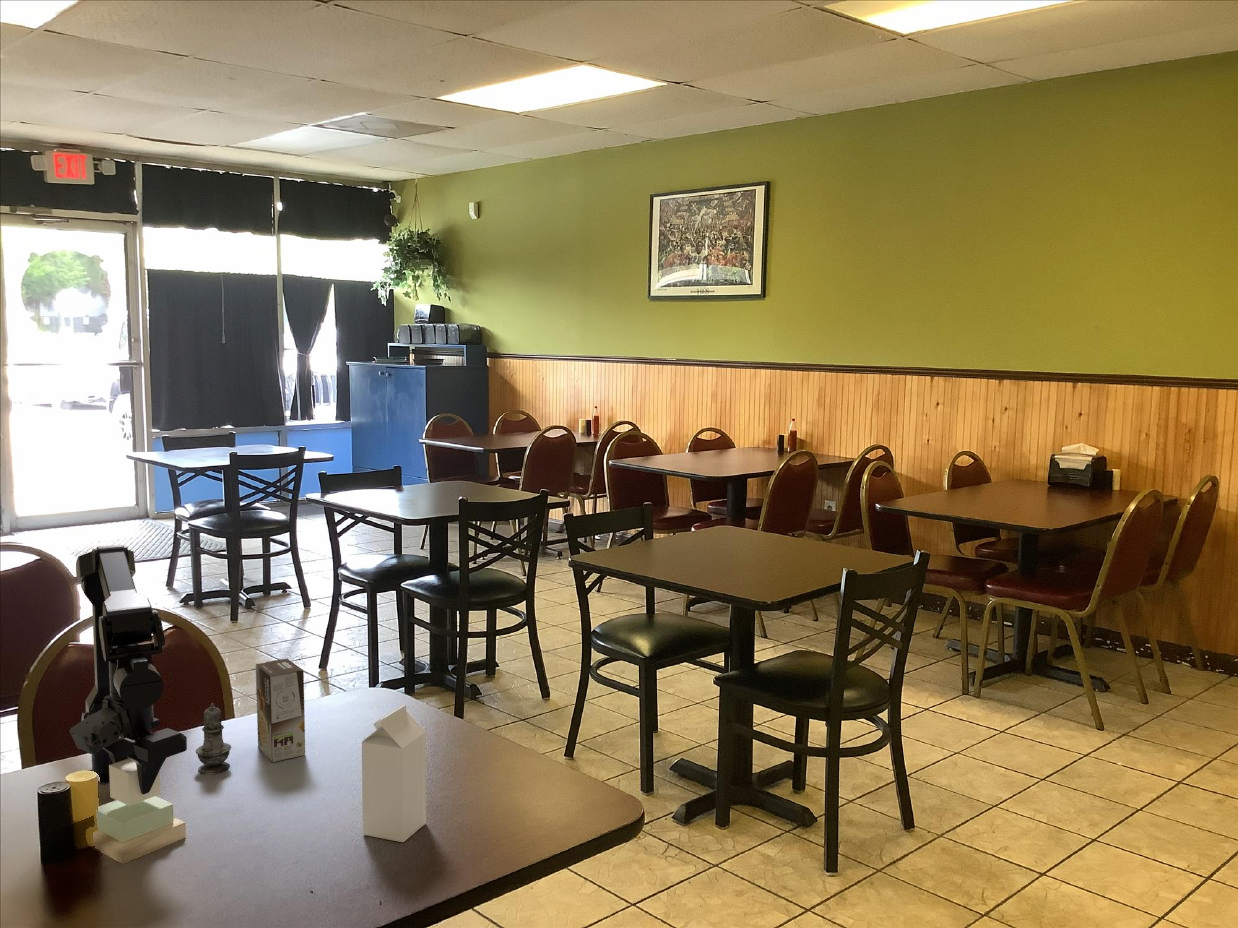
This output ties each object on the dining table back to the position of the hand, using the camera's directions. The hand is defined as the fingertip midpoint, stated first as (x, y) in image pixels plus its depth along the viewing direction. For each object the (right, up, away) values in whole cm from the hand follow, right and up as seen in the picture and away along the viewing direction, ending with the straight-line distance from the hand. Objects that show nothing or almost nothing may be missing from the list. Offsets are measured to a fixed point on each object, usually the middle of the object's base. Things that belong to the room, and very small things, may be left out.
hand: (135, 788), depth 157 cm
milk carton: (+38, -8, +5) cm, 39 cm away
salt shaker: (+1, -5, +28) cm, 28 cm away
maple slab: (0, -9, +1) cm, 9 cm away
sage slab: (0, -6, 0) cm, 6 cm away
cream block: (0, -1, 0) cm, 1 cm away
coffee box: (+10, -4, +36) cm, 38 cm away
